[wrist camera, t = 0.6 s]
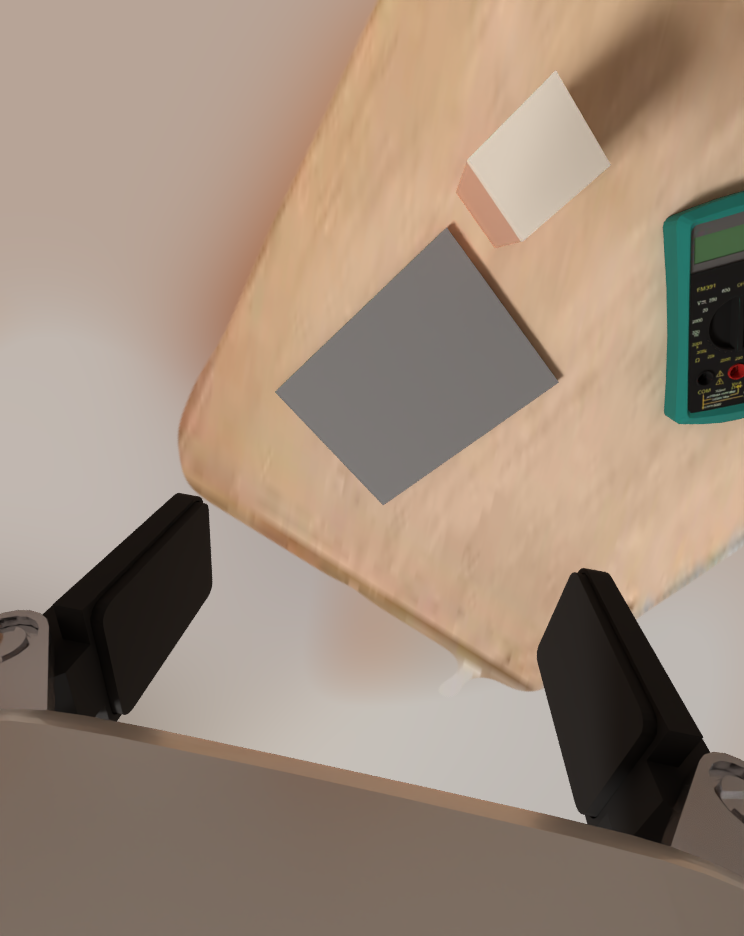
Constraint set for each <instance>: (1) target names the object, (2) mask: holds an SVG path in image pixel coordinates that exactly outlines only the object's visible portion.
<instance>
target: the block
mask: <svg viewBox="0 0 744 936" xmlns="http://www.w3.org/2000/svg"><path fill="white" fill-rule="evenodd" d="M610 165H611V164H610V162H609V161H608V159H607V157H606V156H605V154H604V152H603V150H602V149H601V147H600V145H599V143H598V142H597V140H596V138H595V137H594V135H593V133H592V131H591V130H590V128H589V126H588V125H587V123H586V121H585V119H584V118H583V116H582V114H581V113H580V111H579V109H578V107H577V106H576V104H575V102H574V100H573V99H572V97H571V95H570V94H569V92H568V90H567V88H566V87H565V85H564V83H563V82H562V80H561V78H560V76H559V75H558V73H557V71H555V72H554V73H553V74H552V75H551V76H550V77H549V78H548V79H547V80H546V81H545V82H544V83H543V84H542V85H541V86H540V87H539V88H538V89H537V90H536V91H535V92H534V93H533V94H532V95H531V96H530V97H529V98H528V99H527V100H526V101H525V102H524V103H523V104H522V105H521V106H520V107H519V108H518V109H517V110H516V111H515V112H514V113H513V114H512V115H511V116H510V117H509V118H508V119H507V120H506V121H505V122H504V123H503V124H502V125H501V126H500V127H499V128H498V129H497V130H496V131H495V132H494V133H493V134H492V135H491V136H490V137H489V138H488V139H487V140H486V141H485V142H484V143H483V144H482V145H481V146H480V147H479V148H478V149H477V150H476V151H475V152H474V153H473V154H472V155H471V156H470V157H469V158H468V160H467V163H466V166H465V169H464V171H463V174H462V177H461V180H460V182H459V185H458V188H457V191H456V193H457V195H458V196H459V198H460V199H461V200H462V202H463V203H464V205H465V206H466V208H467V209H468V210H469V212H470V213H471V215H472V216H473V218H474V219H475V220H476V222H477V223H478V225H479V226H480V228H481V229H482V230H483V232H484V233H485V235H486V236H487V238H488V239H489V240H490V242H491V243H492V245H493V246H494V248H498V247H502V246H506V245H510V244H514V243H518V242H522V241H524V240H525V239H526V238H527V237H529V236H530V235H531V234H532V233H533V232H534V231H536V230H537V229H538V228H539V227H540V226H541V225H542V224H544V223H545V222H546V221H547V220H548V219H549V218H550V217H552V216H553V215H554V214H555V213H556V212H557V211H559V210H560V209H561V208H562V207H563V206H564V205H565V204H567V203H568V202H569V201H570V200H571V199H572V198H573V197H575V196H576V195H577V194H578V193H579V192H580V191H582V190H583V189H584V188H585V187H586V186H587V185H588V184H590V183H591V182H592V181H593V180H594V179H595V178H596V177H598V176H599V175H600V174H601V173H602V172H603V171H605V170H606V169H607V168H608V167H609V166H610Z"/></svg>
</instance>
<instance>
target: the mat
mask: <svg viewBox="0 0 744 936" xmlns="http://www.w3.org/2000/svg"><path fill="white" fill-rule="evenodd" d="M557 383H559V382H558V381H557V379H556V378H555V376H554V375H553V374H552V372H551V371H550V370H549V368H548V367H547V365H546V364H545V363H544V361H543V360H542V359H541V357H540V356H539V354H538V353H537V352H536V350H535V349H534V347H533V346H532V345H531V343H530V342H529V341H528V339H527V338H526V336H525V335H524V334H523V332H522V331H521V329H520V328H519V327H518V325H517V324H516V323H515V321H514V320H513V318H512V317H511V316H510V314H509V313H508V311H507V310H506V309H505V307H504V306H503V305H502V303H501V302H500V300H499V299H498V298H497V296H496V295H495V293H494V292H493V291H492V289H491V288H490V287H489V285H488V284H487V282H486V281H485V280H484V278H483V277H482V276H481V274H480V273H479V271H478V270H477V269H476V267H475V266H474V264H473V263H472V262H471V260H470V259H469V258H468V256H467V255H466V253H465V252H464V251H463V249H462V248H461V246H460V245H459V244H458V242H457V241H456V240H455V238H454V237H453V235H452V234H451V233H450V231H449V230H448V228H446V229H445V230H444V231H442V232H441V233H440V234H439V235H438V236H437V237H436V238H435V239H434V240H433V241H432V242H431V243H430V244H429V245H428V246H427V247H426V248H425V249H424V250H423V251H422V252H421V253H420V254H418V255H417V256H416V257H415V258H414V259H413V260H412V261H411V262H410V263H409V264H408V265H407V266H406V267H405V268H404V269H403V270H402V271H401V272H400V273H399V274H398V275H397V276H396V277H394V278H393V279H392V280H391V281H390V282H389V283H388V284H387V285H386V286H385V287H384V288H383V289H382V290H381V291H380V292H379V293H378V294H377V295H376V296H375V297H374V298H373V299H371V300H370V301H369V302H368V303H367V304H366V305H365V306H364V307H363V308H362V309H361V310H360V311H359V312H358V313H357V314H356V315H355V316H354V317H353V318H352V319H351V320H350V321H349V322H347V323H346V324H345V325H344V326H343V327H342V328H341V329H340V330H339V331H338V332H337V333H336V334H335V335H334V336H333V337H332V338H331V339H330V340H329V341H328V342H327V343H326V344H325V345H323V346H322V347H321V348H320V349H319V350H318V351H317V352H316V353H315V354H314V355H313V356H312V357H311V358H310V359H309V360H308V361H307V362H306V363H305V364H304V365H303V366H302V367H301V368H299V369H298V370H297V371H296V372H295V373H294V374H293V375H292V376H291V377H290V378H289V379H288V380H287V381H286V382H285V383H284V384H283V385H282V386H281V387H280V388H279V389H278V390H277V391H275V393H276V394H277V395H278V396H279V397H280V398H281V399H282V400H283V401H284V402H285V403H286V404H287V405H288V406H289V407H290V408H291V409H292V410H293V411H294V412H295V413H296V415H297V416H298V417H299V418H300V419H301V420H302V421H303V422H304V423H305V424H306V425H307V426H308V427H309V428H310V429H311V430H312V431H313V432H314V433H315V434H316V435H317V436H318V438H319V439H320V440H321V441H322V442H323V443H324V444H325V445H326V446H327V447H328V448H329V449H330V450H331V451H332V452H333V453H334V454H335V455H336V456H337V457H338V458H339V460H340V461H341V462H342V463H343V464H344V465H345V466H346V467H347V468H348V469H349V470H350V471H351V472H352V473H353V474H354V475H355V476H356V477H357V478H358V479H359V480H360V482H361V483H362V484H363V485H364V486H365V487H366V488H367V489H368V490H369V491H370V492H371V493H372V494H373V495H374V496H375V497H376V498H377V499H378V500H379V501H380V502H381V504H382V505H384V504H386V503H387V502H389V501H390V500H392V499H393V498H394V497H396V496H397V495H399V494H400V493H402V492H403V491H404V490H406V489H407V488H409V487H410V486H412V485H413V484H414V483H416V482H417V481H419V480H420V479H422V478H423V477H424V476H426V475H427V474H429V473H430V472H432V471H433V470H434V469H436V468H437V467H439V466H440V465H442V464H443V463H444V462H446V461H447V460H449V459H450V458H452V457H453V456H454V455H456V454H457V453H459V452H460V451H462V450H463V449H464V448H466V447H467V446H469V445H470V444H472V443H473V442H474V441H476V440H477V439H479V438H480V437H482V436H483V435H484V434H486V433H487V432H489V431H490V430H492V429H493V428H494V427H496V426H497V425H499V424H500V423H501V422H503V421H504V420H506V419H507V418H509V417H510V416H511V415H513V414H514V413H516V412H517V411H519V410H520V409H521V408H523V407H524V406H526V405H527V404H529V403H530V402H531V401H533V400H534V399H536V398H537V397H539V396H540V395H541V394H543V393H544V392H546V391H547V390H549V389H550V388H551V387H553V386H554V385H556V384H557Z"/></svg>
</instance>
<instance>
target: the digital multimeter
mask: <svg viewBox="0 0 744 936" xmlns="http://www.w3.org/2000/svg"><path fill="white" fill-rule="evenodd" d="M663 235H664V252H665V269H666V286H667V335H668V336H667V368H666V390H665V406H664V413H665V415H666V416H668V417H669V418H671V419H672V420H674V421H675V422H677V423H678V424H710V423H722V422H727V421H732V420H737V419H742V418H744V191H741V192H738V193H734V194H731V195H728V196H724V197H721V198H718V199H715V200H712V201H709V202H706V203H704V204H701V205H698V206H695V207H692V208H690V209H687V210H685V211H682V212H680V213H677V214H674V215H672V216H670V217H668V218H667V219H666V221H665V222H664V225H663ZM690 275H691V281H690ZM689 317H690V335H689ZM708 340H709V341H708ZM715 348H716V349H715ZM719 350H720V351H719ZM688 379H689V390H688ZM741 403H742V404H741ZM736 404H737V405H736ZM731 405H732V406H731ZM726 406H727V407H726ZM721 407H722V408H721ZM716 408H717V409H716ZM711 409H712V410H711ZM706 410H707V411H706Z"/></svg>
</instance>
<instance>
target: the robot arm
mask: <svg viewBox="0 0 744 936" xmlns="http://www.w3.org/2000/svg"><path fill="white" fill-rule="evenodd" d="M209 527H210V526H209V509H208V505H207V504H205V503H203V501H202V498H201V497H198V496H192V495H187V494H182V493H177V494H175V495H174V496H173V497H172V498H171V499H169V500H168V501H167V502H166V503H165V504H164V505H163V506H162V507H161V508H159V509H158V510H157V511H156V512H155V513H154V514H153V515H152V516H151V517H149V518H148V519H147V520H146V521H145V522H144V523H143V524H142V525H141V526H139V527H138V528H137V529H136V530H135V531H134V532H133V533H132V534H131V535H130V536H128V537H127V538H126V539H125V540H124V541H123V542H122V543H121V544H119V545H118V546H117V547H116V548H115V549H114V550H113V551H112V552H111V553H109V554H108V555H107V556H106V557H105V558H104V559H103V560H102V561H101V562H99V563H98V564H97V565H96V566H95V567H94V568H93V569H92V570H91V571H89V572H88V573H87V574H86V575H85V576H84V577H83V578H82V579H81V580H79V581H78V582H77V583H76V584H75V585H74V586H73V587H72V588H71V589H69V590H68V591H67V592H66V593H65V594H64V595H63V596H62V597H61V598H60V599H58V600H57V601H56V602H55V603H54V604H53V605H52V606H51V607H50V608H49V609H48V610H47V611H46V612H45V613H44V614H43V615H42V614H41V613H38V612H34V611H30V610H17V611H11V612H5V613H2V614H0V936H744V761H742V760H741V759H738V758H736V757H733V756H731V755H728V754H726V753H718V752H712V753H710V751H709V749H708V748H707V746H706V744H705V742H704V741H703V739H702V738H703V736H702V734H701V732H700V731H699V729H698V728H697V726H696V724H695V722H694V720H693V719H692V717H691V715H690V713H689V712H688V710H687V708H686V706H685V705H684V703H683V701H682V699H681V698H680V696H679V694H678V692H677V691H676V689H675V687H674V685H673V684H672V682H671V680H670V678H669V677H668V675H667V673H666V672H665V670H664V668H663V666H662V665H661V663H660V661H659V659H658V658H657V656H656V654H655V652H654V651H653V649H652V647H651V646H650V644H649V642H648V640H647V638H646V637H645V635H644V633H643V632H642V630H641V628H640V626H639V625H638V623H637V621H636V619H635V617H634V616H633V614H632V612H631V611H630V609H629V607H628V605H627V604H626V602H625V600H624V598H623V597H622V595H621V593H620V591H619V590H618V588H617V586H616V584H615V583H614V581H613V579H612V577H611V576H610V575H609V573H606V572H602V571H597V570H591V569H586V568H582V569H580V570H579V571H578V573H575V572H574V573H572V574H571V575H570V577H569V579H568V582H567V584H566V586H565V588H564V590H563V593H562V595H561V597H560V599H559V602H558V604H557V606H556V608H555V610H554V613H553V615H552V617H551V619H550V622H549V624H548V626H547V628H546V630H545V633H544V635H543V637H542V639H541V642H540V644H539V646H538V650H537V662H538V666H539V670H540V673H541V677H542V681H543V685H544V688H545V692H546V696H547V700H548V703H549V707H550V710H551V714H552V718H553V722H554V726H555V729H556V733H557V737H558V741H559V745H560V748H561V752H562V756H563V760H564V763H565V767H566V771H567V775H568V778H569V782H570V786H571V789H572V793H573V797H574V801H575V804H576V807H577V809H578V811H579V812H580V813H581V814H584V815H585V817H586V820H587V824H584V823H580V822H576V821H572V820H567V819H563V818H559V817H555V816H551V815H547V814H542V813H538V812H533V811H529V810H525V809H520V808H516V807H511V806H507V805H503V804H498V803H493V802H489V801H485V800H480V799H475V798H471V797H466V796H462V795H457V794H453V793H449V792H445V791H440V790H436V789H431V788H427V787H422V786H418V785H413V784H409V783H403V782H399V781H395V780H390V779H385V778H381V777H377V776H372V775H367V774H363V773H358V772H354V771H349V770H344V769H340V768H335V767H331V766H326V765H322V764H317V763H312V762H308V761H303V760H298V759H294V758H289V757H285V756H280V755H276V754H271V753H266V752H261V751H256V750H252V749H247V748H243V747H238V746H233V745H228V744H224V743H219V742H214V741H209V740H205V739H200V738H195V737H191V736H186V735H181V734H177V733H172V732H167V731H162V730H157V729H152V728H147V727H142V726H137V725H132V724H126V723H121V722H117V720H118V719H119V717H120V716H121V715H122V714H123V715H126V714H128V713H129V712H130V711H131V710H132V709H133V708H134V706H135V705H136V703H137V702H138V700H139V699H140V697H141V696H142V694H143V693H144V691H145V690H146V688H147V687H148V685H149V684H150V682H151V681H152V679H153V678H154V676H155V675H156V673H157V672H158V670H159V669H160V668H161V666H162V664H163V663H164V661H165V660H166V659H167V657H168V655H169V654H170V652H171V651H172V649H173V648H174V647H175V645H176V644H177V642H178V641H179V639H180V638H181V636H182V635H183V633H184V632H185V630H186V629H187V627H188V626H189V624H190V623H191V621H192V620H193V618H194V617H195V615H196V614H197V612H198V611H199V609H200V608H201V606H202V605H203V603H204V602H205V600H206V599H207V597H208V596H209V594H210V591H211V588H212V565H211V547H210V528H209Z"/></svg>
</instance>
